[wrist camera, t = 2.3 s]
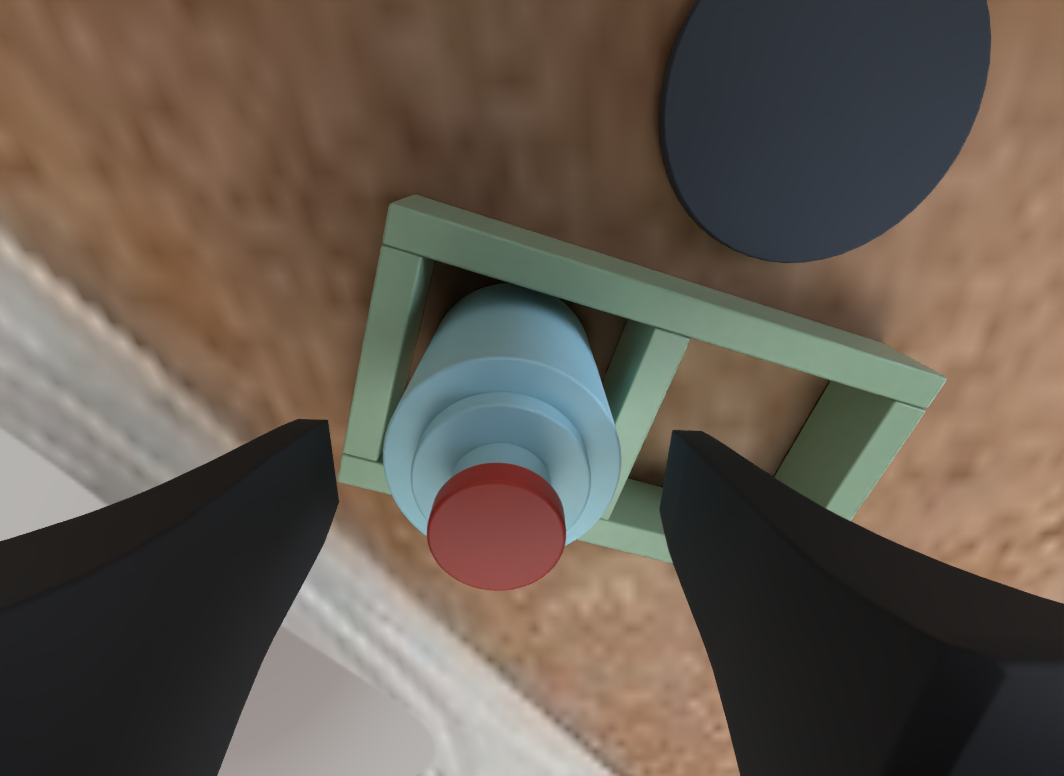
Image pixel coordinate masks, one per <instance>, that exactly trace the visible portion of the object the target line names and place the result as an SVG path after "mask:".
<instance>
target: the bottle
mask: <svg viewBox="0 0 1064 776" xmlns="http://www.w3.org/2000/svg"><path fill="white" fill-rule="evenodd" d="M621 458H622V457H621V447H620V441H619V438H618V434H617V430H616V427H615V424H614V421H613V417H612V414H611V411H610V408H609V405H608V401H607V398H606V395H605V392H604V389H603V385H602V382H601V379H600V376H599V373H598V369H597V366H596V363H595V360H594V357H593V354H592V350H591V347H590V344H589V341H588V338H587V335H586V332H585V330H584V328H583V326H582V324H581V322H580V321H579V319H578V317H577V316H576V315H575V314H574V312H573V311H572V310H571V309H570V308H569V307H568V306H567V305H566V304H565V303H564V302H563V301H561V300H560V299H558V298H557V297H555V296H551V295H548V294H545V293H542V292H538V291H535V290H532V289H528V288H525V287H522V286H518V285H515V284H512V283H502V284H496V285H490V286H487V287H484V288H480V289H478V290H476V291H474V292H472V293H470V294H468V295H467V296H465V297H463V298H462V299H461V300H459V301H458V302H457V303H456V304H455V305H454V306H453V307H452V308H451V309H450V310H449V311H448V312H447V313H446V315H445V316H444V318H443V319H442V321H441V323H440V324H439V326H438V328H437V330H436V332H435V334H434V336H433V338H432V340H431V342H430V344H429V346H428V348H427V350H426V352H425V353H424V355H423V357H422V359H421V361H420V363H419V365H418V367H417V369H416V371H415V373H414V375H413V377H412V379H411V381H410V382H409V384H408V386H407V388H406V390H405V392H404V394H403V396H402V398H401V400H400V402H399V404H398V406H397V408H396V410H395V412H394V414H393V416H392V418H391V420H390V422H389V424H388V428H387V431H386V434H385V438H384V445H383V466H384V472H385V478H386V481H387V484H388V487H389V490H390V492H391V494H392V496H393V498H394V500H395V502H396V504H397V505H398V507H399V508H400V510H401V511H402V513H403V514H404V515H405V516H406V518H407V519H408V520H409V521H410V522H411V523H412V524H413V525H414V526H415V527H416V528H417V529H418V530H420V531H421V532H422V533H423V534H425V535H426V536H427V541H428V545H429V548H430V551H431V553H432V555H433V557H434V559H435V560H436V562H437V563H438V564H439V566H440V567H441V568H442V569H443V570H444V571H445V572H446V573H448V574H449V575H450V576H452V577H453V578H455V579H456V580H458V581H460V582H462V583H464V584H466V585H469V586H472V587H475V588H479V589H485V590H495V591H499V590H511V589H516V588H521V587H524V586H527V585H529V584H531V583H533V582H536V581H537V580H539V579H541V578H542V577H544V576H545V575H546V574H547V573H548V572H550V570H551V569H552V568H553V567H554V566H555V565H556V563H557V562H558V560H559V559H560V557H561V555H562V553H563V550H564V547H565V546H566V545H568V544H570V543H571V542H573V541H574V540H576V539H577V538H579V537H580V536H582V535H583V534H584V533H585V532H587V531H588V530H589V529H590V528H591V527H592V526H593V525H594V524H595V523H596V522H597V521H598V520H599V519H600V517H601V516H602V515H603V513H604V512H605V510H606V509H607V507H608V506H609V504H610V502H611V500H612V498H613V496H614V494H615V491H616V488H617V485H618V482H619V477H620V472H621Z"/></svg>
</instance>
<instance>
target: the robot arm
mask: <svg viewBox="0 0 1064 776" xmlns="http://www.w3.org/2000/svg"><path fill="white" fill-rule="evenodd" d="M338 503H339V498H338V491H337V483H336V476H335V469H334V461H333V454H332V447H331V439H330V432H329V425H328V420H311V419H297V420H295V421H292V422H289V423H287V424H285V425H282V426H280V427H278V428H276V429H274V430H272V431H270V432H268V433H266V434H264V435H262V436H260V437H258V438H256V439H254V440H252V441H250V442H248V443H246V444H244V445H242V446H240V447H238V448H236V449H234V450H232V451H230V452H228V453H226V454H224V455H222V456H220V457H218V458H216V459H214V460H212V461H210V462H208V463H206V464H204V465H202V466H200V467H197V468H195V469H193V470H191V471H189V472H187V473H185V474H182V475H180V476H178V477H176V478H174V479H172V480H170V481H167V482H165V483H163V484H161V485H159V486H156V487H154V488H152V489H149V490H147V491H145V492H142V493H140V494H137V495H135V496H132V497H130V498H127V499H125V500H122V501H120V502H117V503H114V504H112V505H109V506H106V507H104V508H101V509H99V510H96V511H93V512H91V513H88V514H85V515H82V516H79V517H76V518H73V519H70V520H67V521H63V522H60V523H57V524H54V525H51V526H48V527H45V528H42V529H38V530H35V531H32V532H29V533H26V534H23V535H20V536H17V537H14V538H10V539H7V540H4V541H0V776H217V775H218V772H219V769H220V767H221V764H222V761H223V759H224V756H225V754H226V751H227V749H228V746H229V743H230V741H231V738H232V736H233V733H234V730H235V728H236V725H237V722H238V720H239V717H240V715H241V712H242V709H243V707H244V705H245V702H246V700H247V698H248V695H249V692H250V690H251V688H252V685H253V683H254V680H255V678H256V676H257V673H258V670H259V668H260V666H261V663H262V661H263V659H264V657H265V655H266V653H267V651H268V649H269V646H270V645H271V642H272V640H273V638H274V637H275V635H276V633H277V631H278V629H279V627H280V625H281V624H282V622H283V620H284V618H285V616H286V614H287V612H288V610H289V609H290V607H291V605H292V603H293V601H294V599H295V597H296V596H297V594H298V592H299V590H300V588H301V586H302V584H303V583H304V581H305V579H306V577H307V575H308V573H309V571H310V569H311V568H312V566H313V564H314V562H315V560H316V558H317V556H318V554H319V552H320V550H321V548H322V546H323V544H324V542H325V540H326V537H327V534H328V532H329V529H330V526H331V524H332V521H333V518H334V515H335V512H336V509H337V506H338ZM659 511H660V516H661V520H662V525H663V530H664V534H665V538H666V542H667V547H668V551H669V554H670V556H671V559H672V562H673V565H674V567H675V570H676V573H677V575H678V578H679V580H680V583H681V586H682V588H683V591H684V593H685V596H686V599H687V601H688V604H689V606H690V609H691V612H692V614H693V617H694V619H695V622H696V625H697V627H698V630H699V632H700V635H701V637H702V640H703V643H704V645H705V648H706V651H707V654H708V657H709V660H710V663H711V666H712V669H713V672H714V676H715V679H716V683H717V687H718V690H719V694H720V698H721V701H722V705H723V709H724V712H725V716H726V720H727V724H728V728H729V732H730V736H731V740H732V744H733V748H734V752H735V756H736V760H737V764H738V768H739V772H740V776H1064V604H1063V603H1059V602H1056V601H1052V600H1049V599H1045V598H1042V597H1039V596H1036V595H1033V594H1030V593H1027V592H1024V591H1021V590H1018V589H1015V588H1012V587H1009V586H1006V585H1003V584H1001V583H998V582H995V581H992V580H989V579H986V578H983V577H980V576H977V575H975V574H972V573H969V572H967V571H964V570H961V569H959V568H956V567H953V566H951V565H948V564H945V563H943V562H941V561H938V560H936V559H933V558H931V557H928V556H926V555H924V554H921V553H919V552H916V551H914V550H912V549H909V548H907V547H904V546H902V545H900V544H897V543H895V542H893V541H891V540H888V539H886V538H884V537H882V536H880V535H877V534H875V533H873V532H871V531H869V530H867V529H865V528H863V527H861V526H859V525H857V524H855V523H853V522H851V521H849V520H847V519H845V518H843V517H841V516H839V515H837V514H835V513H834V512H832V511H830V510H828V509H826V508H824V507H823V506H821V505H819V504H817V503H816V502H814V501H812V500H811V499H809V498H807V497H805V496H804V495H802V494H800V493H799V492H797V491H795V490H793V489H792V488H790V487H789V486H787V485H785V484H784V483H782V482H781V481H779V480H777V479H776V478H774V477H773V476H771V475H770V474H768V473H766V472H765V471H763V470H762V469H760V468H759V467H757V466H756V465H754V464H753V463H751V462H750V461H748V460H747V459H745V458H744V457H742V456H741V455H739V454H738V453H736V452H735V451H733V450H732V449H730V448H729V447H727V446H726V445H724V444H723V443H721V442H720V441H718V440H717V439H715V438H713V437H712V436H710V435H708V434H706V433H704V432H703V431H686V430H672V436H671V442H670V448H669V454H668V460H667V466H666V472H665V478H664V484H663V490H662V497H661V503H660V509H659Z"/></svg>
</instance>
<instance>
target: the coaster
mask: <svg viewBox="0 0 1064 776" xmlns="http://www.w3.org/2000/svg"><path fill="white" fill-rule="evenodd" d="M990 49H991V30H990V16H989V10H988V5H987V1H986V0H697V1H696V2H695V4H694V5H693V7H692V9H691V10H690V12H689V14H688V16H687V18H686V20H685V21H684V23H683V25H682V27H681V29H680V31H679V34H678V36H677V39H676V41H675V43H674V46H673V48H672V51H671V54H670V57H669V60H668V64H667V67H666V71H665V74H664V79H663V85H662V91H661V96H660V110H659V133H660V145H661V150H662V156H663V161H664V165H665V168H666V171H667V174H668V178H669V181H670V183H671V185H672V187H673V189H674V192H675V194H676V196H677V198H678V200H679V201H680V203H681V204H682V206H683V207H684V209H685V210H686V212H687V213H688V215H689V216H690V217H691V218H692V219H693V220H694V221H695V222H696V224H697V225H698V226H699V227H700V228H701V229H703V230H704V231H705V232H706V233H707V234H709V235H710V236H711V237H712V238H714V239H715V240H717V241H719V242H720V243H722V244H724V245H725V246H727V247H729V248H731V249H733V250H735V251H738V252H740V253H742V254H745V255H747V256H750V257H753V258H757V259H761V260H765V261H772V262H781V263H800V262H809V261H816V260H822V259H826V258H829V257H833V256H836V255H840V254H843V253H845V252H848V251H850V250H853V249H855V248H857V247H860V246H862V245H864V244H866V243H868V242H869V241H871V240H873V239H875V238H877V237H879V236H880V235H882V234H883V233H885V232H886V231H887V230H889V229H890V228H892V227H893V226H895V225H896V224H898V223H899V222H900V221H901V220H902V219H904V218H905V217H906V216H907V215H908V214H909V213H911V212H912V211H913V210H914V209H915V208H916V207H917V206H918V205H919V204H920V203H921V202H922V201H923V200H924V199H925V198H926V197H927V196H928V195H929V194H930V193H931V192H932V190H933V189H934V188H935V187H936V185H937V184H938V183H939V182H940V180H941V179H942V178H943V177H944V175H945V174H946V173H947V171H948V169H949V168H950V166H951V165H952V163H953V162H954V160H955V159H956V157H957V156H958V154H959V152H960V150H961V148H962V147H963V145H964V143H965V141H966V139H967V137H968V135H969V133H970V131H971V128H972V126H973V123H974V121H975V118H976V116H977V113H978V111H979V108H980V104H981V101H982V97H983V94H984V90H985V87H986V81H987V76H988V70H989V64H990Z"/></svg>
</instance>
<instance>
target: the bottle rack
mask: <svg viewBox="0 0 1064 776" xmlns="http://www.w3.org/2000/svg"><path fill="white" fill-rule="evenodd" d="M382 241H383V245H382V246H381V249H380V254H379V260H378V265H377V270H376V276H375V281H374V286H373V292H372V297H371V302H370V308H369V313H368V318H367V324H366V329H365V334H364V340H363V345H362V351H361V356H360V361H359V367H358V372H357V377H356V383H355V388H354V393H353V399H352V404H351V409H350V415H349V420H348V425H347V431H346V436H345V441H344V447H343V454H342V457H341V463H340V468H339V473H338V482H341V483H345V484H349V485H353V486H357V487H362V488H366V489H370V490H374V491H378V492H382V493H386V494H390V495H392V494H391V492H390V490H389V487H388V484H387V481H386V478H385V472H384V466H383V445H384V438H385V434H386V431H387V428H388V424H389V422H390V420H391V418H392V416H393V414H394V412H395V410H396V408H397V406H398V404H399V402H400V400H401V398H402V396H403V394H404V392H405V388H406V384H407V380H408V375H409V371H410V367H411V362H412V358H413V354H414V349H415V345H416V341H417V336H418V332H419V328H420V323H421V319H422V315H423V310H424V306H425V302H426V297H427V293H428V289H429V284H430V280H431V276H432V271H433V267H434V263H435V260H436V261H439V262H443V263H446V264H449V265H453V266H456V267H459V268H462V269H466V270H469V271H472V272H476V273H479V274H482V275H486V276H489V277H492V278H495V279H499V280H502V281H505V282H509V283H512V284H515V285H518V286H522V287H525V288H528V289H532V290H535V291H538V292H542V293H545V294H548V295H551V296H555V297H558V298H561V299H565V300H568V301H571V302H574V303H578V304H581V305H584V306H588V307H591V308H594V309H598V310H601V311H604V312H607V313H611V314H614V315H617V316H621V317H624V318H627V322H626V324H625V327H624V330H623V332H622V335H621V337H620V340H619V342H618V345H617V347H616V350H615V352H614V355H613V357H612V360H611V362H610V365H609V367H608V370H607V372H606V375H605V378H604V380H603V383H602V385H603V389H604V392H605V395H606V398H607V401H608V405H609V408H610V411H611V414H612V417H613V421H614V424H615V427H616V430H617V434H618V438H619V441H620V447H621V457H622V458H621V472H620V477H619V482H618V485H617V488H616V491H615V494H614V496H613V498H612V500H611V502H610V504H609V506H608V507H607V509H606V510H605V512H604V513H603V515H602V516H601V517H600V519H599V520H598V521H597V522H596V523H595V524H594V525H593V526H592V527H591V528H590V529H589V530H588V531H587V532H585V533H584V534H583V535H582V536H580V537H579V538H577V539H576V540H579V541H583V542H587V543H591V544H595V545H599V546H603V547H607V548H611V549H615V550H620V551H624V552H628V553H632V554H636V555H640V556H644V557H648V558H652V559H656V560H661V561H665V562H669V563H673V562H672V559H671V556H670V554H669V551H668V547H667V542H666V538H665V534H664V530H663V525H662V520H661V516H660V511H659V509H660V503H661V497H662V490H663V487H659V486H655V485H652V484H648V483H644V482H640V481H636V480H633V479H629V478H628V476H629V474H630V471H631V469H632V467H633V465H634V463H635V460H636V458H637V456H638V454H639V452H640V449H641V447H642V445H643V443H644V441H645V438H646V436H647V434H648V432H649V429H650V427H651V425H652V423H653V421H654V418H655V416H656V414H657V412H658V410H659V407H660V405H661V403H662V401H663V399H664V396H665V394H666V392H667V390H668V388H669V385H670V383H671V381H672V379H673V377H674V374H675V372H676V370H677V368H678V366H679V363H680V361H681V359H682V357H683V355H684V352H685V350H686V348H687V346H688V343H689V341H690V338H693V339H696V340H700V341H703V342H706V343H709V344H713V345H716V346H719V347H723V348H726V349H729V350H733V351H736V352H739V353H742V354H746V355H749V356H752V357H756V358H759V359H762V360H765V361H769V362H772V363H775V364H779V365H782V366H785V367H789V368H792V369H795V370H798V371H802V372H805V373H808V374H812V375H815V376H818V377H821V378H825V379H828V380H831V381H830V383H829V384H828V386H827V388H826V390H825V391H824V393H823V395H822V396H821V398H820V400H819V401H818V403H817V405H816V407H815V408H814V410H813V412H812V413H811V415H810V417H809V418H808V420H807V422H806V424H805V425H804V427H803V429H802V430H801V432H800V434H799V436H798V437H797V439H796V441H795V442H794V444H793V446H792V447H791V449H790V451H789V453H788V454H787V456H786V458H785V459H784V461H783V463H782V464H781V466H780V468H779V470H778V471H777V473H776V475H775V476H774V478H776V479H777V480H779V481H781V482H782V483H784V484H785V485H787V486H789V487H790V488H792V489H793V490H795V491H797V492H799V493H800V494H802V495H804V496H805V497H807V498H809V499H811V500H812V501H814V502H816V503H817V504H819V505H821V506H823V507H824V508H826V509H828V510H830V511H832V512H834V513H835V514H837V515H839V516H841V517H843V518H845V519H847V520H849V521H851V520H852V518H853V517H854V515H855V514H856V512H857V511H858V509H859V508H860V506H861V505H862V504H863V502H864V501H865V499H866V498H867V496H868V495H869V493H870V492H871V490H872V489H873V487H874V486H875V485H876V483H877V482H878V480H879V479H880V477H881V476H882V474H883V473H884V471H885V470H886V469H887V467H888V466H889V464H890V463H891V461H892V460H893V458H894V457H895V455H896V454H897V452H898V451H899V450H900V448H901V447H902V445H903V444H904V442H905V441H906V439H907V438H908V436H909V435H910V434H911V432H912V431H913V429H914V428H915V426H916V425H917V423H918V422H919V420H920V419H921V417H922V416H923V415H924V413H925V410H924V409H923V408H927V407H929V405H930V404H931V402H932V401H933V399H934V398H935V396H936V395H937V393H938V392H939V391H940V389H941V388H942V386H943V385H944V383H945V382H946V380H947V378H946V377H945V376H944V375H942V374H940V373H938V372H936V371H934V370H933V369H931V368H929V367H927V366H925V365H923V364H921V363H920V362H918V361H916V360H914V359H912V358H910V357H908V356H907V355H905V354H903V353H901V352H899V351H897V350H896V349H894V348H892V347H890V346H888V345H886V344H884V343H882V342H878V341H875V340H872V339H869V338H866V337H863V336H860V335H856V334H853V333H850V332H847V331H844V330H841V329H838V328H834V327H831V326H828V325H825V324H822V323H819V322H816V321H812V320H809V319H806V318H803V317H800V316H797V315H794V314H790V313H787V312H784V311H781V310H778V309H775V308H772V307H768V306H765V305H762V304H759V303H756V302H753V301H750V300H746V299H743V298H740V297H737V296H734V295H731V294H728V293H724V292H721V291H718V290H715V289H712V288H709V287H706V286H702V285H699V284H696V283H693V282H690V281H687V280H684V279H680V278H677V277H674V276H671V275H668V274H665V273H662V272H658V271H655V270H652V269H649V268H646V267H643V266H640V265H636V264H633V263H630V262H627V261H624V260H621V259H618V258H614V257H611V256H608V255H605V254H602V253H599V252H596V251H592V250H589V249H586V248H583V247H580V246H577V245H574V244H570V243H567V242H564V241H561V240H558V239H555V238H552V237H548V236H545V235H542V234H539V233H536V232H533V231H530V230H526V229H523V228H520V227H517V226H514V225H511V224H508V223H504V222H501V221H498V220H495V219H492V218H489V217H486V216H482V215H479V214H476V213H473V212H470V211H467V210H464V209H460V208H457V207H454V206H451V205H448V204H445V203H442V202H438V201H435V200H432V199H429V198H426V197H423V196H420V195H416V194H414V195H411V196H408V197H405V198H403V199H400V200H397V201H395V202H392V203H390V205H389V207H388V212H387V218H386V223H385V228H384V234H383V239H382ZM689 337H690V338H689Z"/></svg>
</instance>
